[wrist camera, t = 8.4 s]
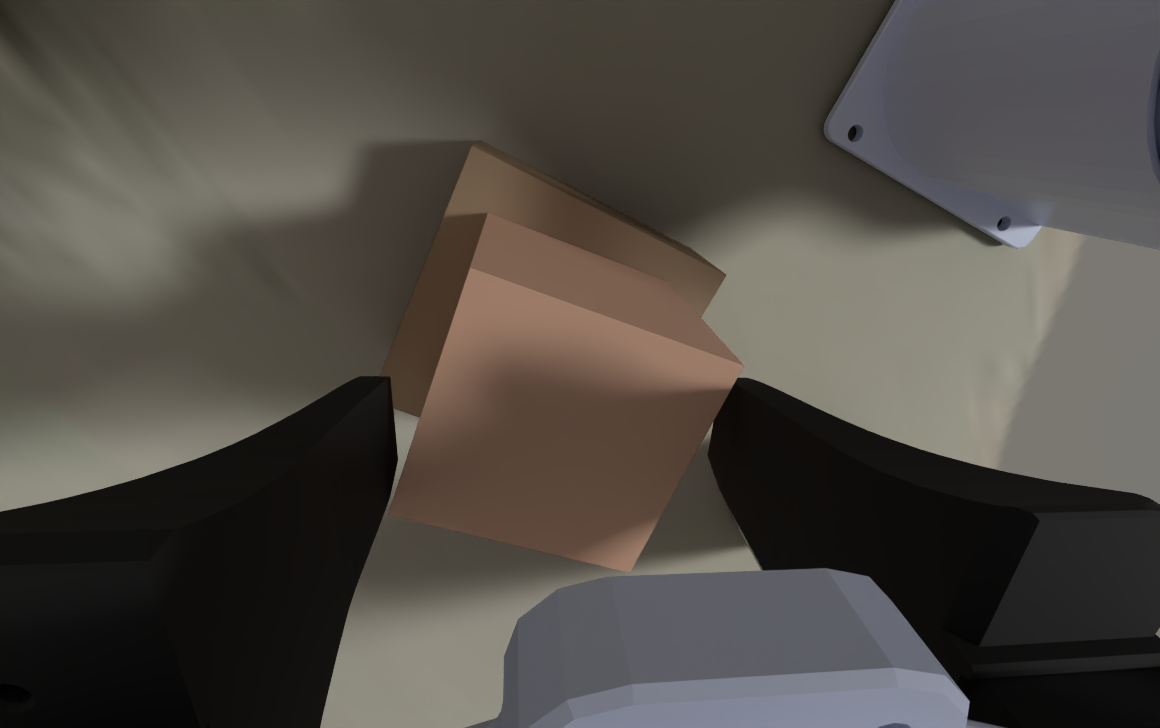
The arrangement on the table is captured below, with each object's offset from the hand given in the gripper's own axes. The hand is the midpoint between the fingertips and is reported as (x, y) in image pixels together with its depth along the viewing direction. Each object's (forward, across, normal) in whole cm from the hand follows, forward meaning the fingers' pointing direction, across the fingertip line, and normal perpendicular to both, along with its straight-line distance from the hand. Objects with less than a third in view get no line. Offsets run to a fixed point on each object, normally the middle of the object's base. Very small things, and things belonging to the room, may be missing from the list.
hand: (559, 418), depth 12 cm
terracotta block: (+5, 0, 0) cm, 5 cm away
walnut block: (+9, 0, 0) cm, 9 cm away
